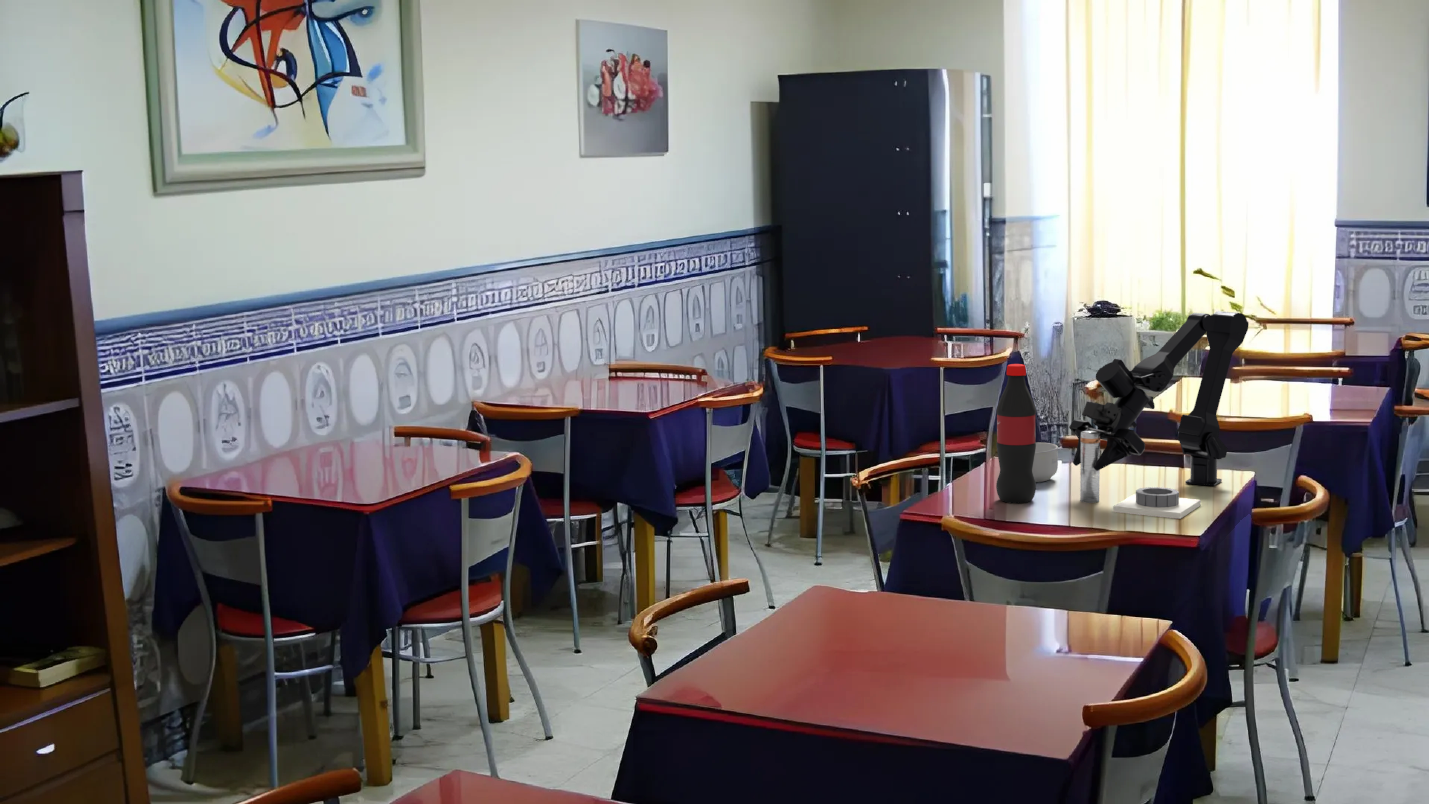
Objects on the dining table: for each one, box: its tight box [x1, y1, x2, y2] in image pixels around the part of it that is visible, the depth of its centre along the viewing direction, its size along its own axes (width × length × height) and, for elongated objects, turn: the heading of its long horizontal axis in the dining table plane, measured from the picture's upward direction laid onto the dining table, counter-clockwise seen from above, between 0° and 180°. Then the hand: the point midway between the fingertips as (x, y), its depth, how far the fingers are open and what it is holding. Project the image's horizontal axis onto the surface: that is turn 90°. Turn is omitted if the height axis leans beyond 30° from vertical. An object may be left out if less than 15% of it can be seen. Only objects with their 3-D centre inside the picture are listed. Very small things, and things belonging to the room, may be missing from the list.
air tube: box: [1079, 431, 1101, 504], centre depth 314 cm, size 4×4×15 cm
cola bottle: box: [995, 363, 1037, 504], centre depth 315 cm, size 8×8×30 cm
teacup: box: [1032, 442, 1059, 483], centre depth 339 cm, size 14×11×8 cm
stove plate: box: [1112, 486, 1202, 520], centre depth 305 cm, size 14×14×4 cm
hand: (1084, 467), depth 313 cm, fingers open, 6 cm apart
